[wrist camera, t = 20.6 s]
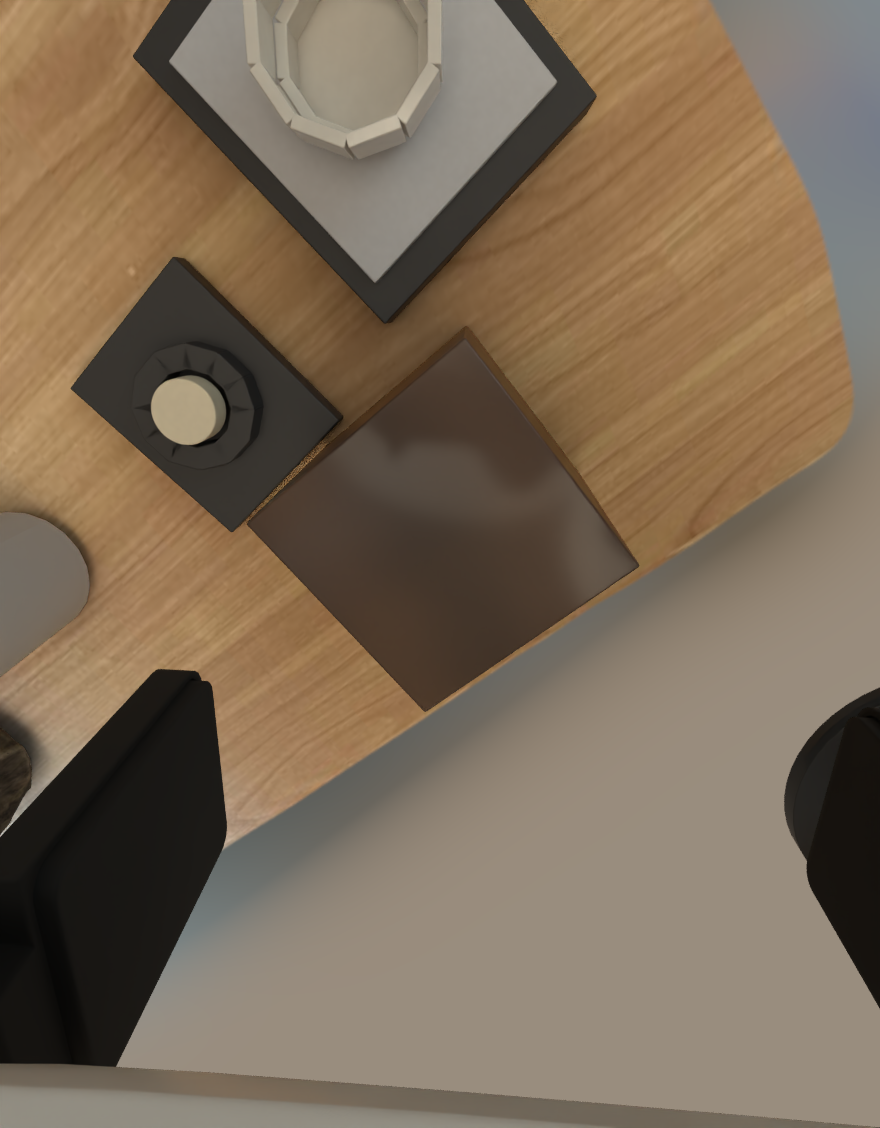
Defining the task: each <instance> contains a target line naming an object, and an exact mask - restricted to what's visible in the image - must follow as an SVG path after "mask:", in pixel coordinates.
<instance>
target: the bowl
mask: <svg viewBox="0 0 880 1128" xmlns="http://www.w3.org/2000/svg"><path fill="white" fill-rule="evenodd" d="M420 1H421V2H420ZM281 2H282V0H242V3H243V16H244V29H245V42H246V55H247V64H248V65H249V66H250V67H251V69H250V72H251V74H252V75H253V77H254V78H255V80H256V81H257V83H258V84H259V85H260V87H261V88H262V90H263V91H264V93H265V94H266V96H267V97H268V99H269V100H270V102H271V103H272V105H273V106H274V108H275V109H276V111H277V112H278V114H279V115H280V117H281V118H282V120H283V121H284V122H285V124H286V125H287V126H288V127H289V128H290V129H291V130H292V131H293V132H294V133H295V134H296V135H297V136H298V137H300V138H301V139H302V140H303V141H304V142H306V143H309V144H312V145H314V146H317V147H320V148H322V149H325V150H328V151H330V152H333V153H336V154H338V155H341V156H344V157H346V158H349V159H352V160H353V159H354V156H356V158H357V159H358V160H359V159H362V158H365V157H367V156H370V155H373V154H375V153H378V152H381V151H383V150H386V149H389V148H391V147H394V146H397V145H399V144H402V143H405V142H406V136H408V137H409V138H411V137H412V135H413V134H414V132H415V130H416V129H417V127H418V126H419V124H420V122H421V121H422V119H423V118H424V116H425V114H426V113H427V111H428V110H429V108H430V106H431V105H432V103H433V101H434V100H435V98H436V97H437V95H438V93H439V92H440V90H441V83H443V73H444V11H443V0H284V1H283V3H282V5H281V7H280V9H279V10H278V12H277V14H276V16H275V19H276V21H277V22H278V23H274V35H273V20H272V19H273V17H274V15H275V13H276V11H277V9H278V7H279V5H280V4H281ZM421 3H422V4H423V5H422V4H421ZM423 6H424V7H423ZM424 8H425V9H426V10H425V9H424ZM426 11H427V12H426ZM274 38H275V50H274ZM275 53H276V66H275ZM276 69H277V78H278V80H279V81H280V83H279V84H278V82H277V81H276ZM280 86H281V87H280ZM282 89H283V90H282ZM284 92H285V93H284ZM286 95H287V96H286ZM288 98H289V99H288ZM290 101H291V102H290ZM292 104H293V105H292ZM294 107H295V108H294ZM296 110H297V111H296ZM298 113H299V114H298Z"/></svg>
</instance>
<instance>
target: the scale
mask: <svg viewBox="0 0 880 1128" xmlns="http://www.w3.org/2000/svg"><path fill="white" fill-rule="evenodd" d="M283 1H284V0H282V2H281V4H280V5H279V7H278V9H277V11H276V13H275V15H274V17H273V19H272V20H273V35H274V23H278V22H277V21H276V19H275V16H276V14H277V12H278V10H279V9H280V7H281V5H282V3H283ZM420 2H421V1H420ZM421 4H422V3H421ZM422 5H423V4H422ZM423 7H424V6H423ZM424 9H425V8H424ZM425 10H426V9H425ZM443 11H444V73H443V83H441V90H440V92H439V93H438V95H437V97H436V98H435V100H434V101H433V103H432V105H431V106H430V108H429V110H428V111H427V113H426V114H425V116H424V118H423V119H422V121H421V122H420V124H419V126H418V127H417V129H416V130H415V132H414V134H413V135H412V137H411V138H409V137H408V136H406V142H405V143H402V144H399V145H397V146H394V147H391V148H389V149H386V150H383V151H381V152H378V153H375V154H373V155H370V156H367V157H365V158H362V159H359V160H358V159H357V158H356V156H354V159H353V160H352V159H349V158H346V157H344V156H341V155H338V154H336V153H333V152H330V151H328V150H325V149H322V148H320V147H317V146H314V145H312V144H309V143H306V142H304V141H303V140H302V139H301V138H300V137H298V136H297V135H296V134H295V133H294V132H293V131H292V130H291V129H290V128H289V127H288V126H287V125H286V124H285V122H284V121H283V120H282V118H281V117H280V115H279V114H278V112H277V111H276V109H275V108H274V106H273V105H272V103H271V102H270V100H269V99H268V97H267V96H266V94H265V93H264V91H263V90H262V88H261V87H260V85H259V84H258V83H257V81H256V80H255V78H254V77H253V75H252V74H251V72H250V69H251V67H250V66H249V65H248V64H247V55H246V42H245V29H244V16H243V3H242V0H171V1H170V2H169V4H168V5H167V7H166V8H165V10H164V11H163V13H162V14H161V15H160V17H159V18H158V20H157V21H156V23H155V24H154V26H153V27H152V29H151V30H150V32H149V33H148V34H147V36H146V37H145V39H144V40H143V42H142V43H141V45H140V46H139V48H138V49H137V51H136V52H135V53H134V55H133V57H134V59H135V60H136V61H137V62H138V63H139V64H140V65H141V66H142V67H143V68H144V69H145V70H146V71H147V72H148V74H149V75H150V76H151V77H152V78H153V79H154V80H155V81H156V82H157V83H158V84H159V85H160V86H161V87H162V88H163V89H164V91H165V92H166V93H167V94H168V95H169V96H170V97H171V98H172V99H173V100H174V101H175V102H176V103H177V104H178V105H179V106H180V107H181V109H182V110H183V111H184V112H185V113H186V114H187V115H188V116H189V117H190V118H191V119H192V120H193V121H194V122H195V123H196V124H197V125H198V127H199V128H200V129H201V130H202V131H203V132H204V133H205V134H206V135H207V136H208V137H209V138H210V139H211V140H212V141H213V142H214V143H215V145H216V146H217V147H218V148H219V149H220V150H221V151H222V152H223V153H224V154H225V155H226V156H227V157H228V158H229V159H230V160H231V162H232V163H233V164H234V165H235V166H236V167H237V168H238V169H239V170H240V171H241V172H242V173H243V174H244V175H245V176H246V177H247V178H248V180H249V181H250V182H251V183H252V184H253V185H254V186H255V187H256V188H257V189H258V190H259V191H260V192H261V193H262V194H263V195H264V196H265V198H266V199H267V200H268V201H269V202H270V203H271V204H272V205H273V206H274V207H275V208H276V209H277V210H278V211H279V212H280V213H281V215H282V216H283V217H284V218H285V219H286V220H287V221H288V222H289V223H290V224H291V225H292V226H293V227H294V228H295V229H296V230H297V231H298V233H299V234H300V235H301V236H302V237H303V238H304V239H305V240H306V241H307V242H308V243H309V244H310V245H311V246H312V247H313V248H314V249H315V251H316V252H317V253H318V254H319V255H320V256H321V257H322V258H323V259H324V260H325V261H326V262H327V263H328V264H329V265H330V266H331V267H332V269H333V270H334V271H335V272H336V273H337V274H338V275H339V276H340V277H341V278H342V279H343V280H344V281H345V282H346V283H347V284H348V286H349V287H350V288H351V289H352V290H353V291H354V292H355V293H356V294H357V295H358V296H359V297H360V298H361V299H362V300H363V301H364V302H365V304H366V305H367V306H368V307H369V308H370V309H371V310H372V311H373V312H374V313H375V314H376V315H377V316H378V317H379V318H380V319H381V320H382V322H383V323H385V324H386V323H391V322H392V321H393V320H394V319H395V318H396V317H397V316H398V315H399V314H400V313H401V312H402V311H403V310H404V309H405V308H406V306H407V305H408V304H409V303H410V302H411V301H412V300H413V299H414V298H415V297H416V296H417V295H418V294H419V293H420V291H421V290H422V289H423V288H424V287H425V286H426V285H427V284H428V283H429V282H430V281H431V280H432V279H433V278H434V276H435V275H436V274H437V273H438V272H439V271H440V270H441V269H442V268H443V267H444V266H445V265H446V264H447V263H448V262H449V260H450V259H451V258H452V257H453V256H454V255H455V254H456V253H457V252H458V251H459V250H460V249H461V248H462V247H463V245H464V244H465V243H466V242H467V241H468V240H469V239H470V238H471V237H472V236H473V235H474V234H475V233H476V232H477V230H478V229H479V228H480V227H481V226H482V225H483V224H484V223H485V222H486V221H487V220H488V219H489V218H490V217H491V215H492V214H493V213H494V212H495V211H496V210H497V209H498V208H499V207H500V206H501V205H502V204H503V203H504V202H505V200H506V199H507V198H508V197H509V196H510V195H511V194H512V193H513V192H514V191H515V190H516V189H517V188H518V187H519V185H520V184H521V183H522V182H523V181H524V180H525V179H526V178H527V177H528V176H529V175H530V174H531V173H532V172H533V170H534V169H535V168H536V167H537V166H538V165H539V164H540V163H541V162H542V161H543V160H544V159H545V158H546V157H547V156H548V154H549V153H550V152H551V151H552V150H553V149H554V148H555V147H556V146H557V145H558V144H559V143H560V142H561V141H562V139H563V138H564V137H565V136H566V135H567V134H568V133H569V132H570V131H571V130H572V129H573V128H574V127H575V126H576V124H577V123H578V122H579V121H580V120H581V119H582V118H583V117H584V116H585V115H586V114H587V112H588V110H589V109H590V107H591V105H592V104H593V102H594V100H595V99H596V97H597V96H596V94H595V93H594V91H593V90H592V89H591V87H590V86H589V85H588V83H587V82H586V81H585V80H584V78H583V77H582V76H581V74H580V73H579V72H578V70H577V69H576V68H575V67H574V65H573V64H572V63H571V61H570V60H569V59H568V57H567V56H566V55H565V54H564V52H563V51H562V50H561V48H560V47H559V46H558V44H557V43H556V42H555V40H554V39H553V38H552V37H551V35H550V34H549V33H548V31H547V30H546V29H545V27H544V26H543V25H542V24H541V22H540V21H539V20H538V18H537V17H536V16H535V14H534V13H533V12H532V11H531V9H530V8H529V7H528V5H527V4H526V3H525V1H524V0H443ZM426 12H427V11H426ZM274 50H275V38H274ZM275 66H276V53H275ZM276 81H277V82H278V84H279V83H280V81H279V80H278V78H277V69H276ZM280 87H281V86H280ZM282 90H283V89H282ZM284 93H285V92H284ZM286 96H287V95H286ZM288 99H289V98H288ZM290 102H291V101H290ZM292 105H293V104H292ZM294 108H295V107H294ZM296 111H297V110H296ZM298 114H299V113H298Z"/></svg>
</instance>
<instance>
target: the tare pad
mask: <svg viewBox="0 0 880 1128" xmlns="http://www.w3.org/2000/svg"><path fill="white" fill-rule="evenodd" d="M189 375H192V376H198V377H201V378H204V379H206V380H208V381H209V382H211V383H212V384H213V385H214V386H215V387H216V388H217V389H218V390H219V392H220V393H221V395H222V397H223V399H224V402H225V406H226V418H225V422H224V425H223V426H222V428H221V430H220V431H219V432H218V433H217V434H216V435H214V436H212V437H211V438H209V439H207V440H205V441H203V442H201V443H198V444H194V445H183V444H179V443H176V442H174V441H172V440H170V439H168V438H167V437H166V436H164V435H163V434H162V433H161V432H160V430H159V429H158V428H157V426H156V424H155V422H154V420H153V417H152V413H151V402H152V397H153V395H154V393H155V391H156V389H157V388H158V387H159V386H160V385H161V384H162V383H164V382H165V381H167V380H170V379H174V378H178V377H182V376H189ZM71 390H73V391H74V392H75V393H76V394H77V395H78V396H79V397H80V398H82V399H83V400H84V401H85V402H86V403H87V404H88V405H89V406H91V407H92V408H93V409H94V410H95V411H96V412H97V413H98V414H99V415H101V416H102V417H103V418H104V419H105V420H106V421H107V422H108V423H110V424H111V425H112V426H113V427H114V428H115V429H116V430H117V431H119V432H120V433H121V434H122V435H123V436H124V437H125V438H126V439H127V440H129V441H130V442H131V443H132V444H133V445H134V446H135V447H136V448H138V449H139V450H140V451H141V452H142V453H143V454H144V455H145V456H146V457H148V458H149V459H150V460H151V461H152V462H153V463H154V464H155V465H157V466H158V467H159V468H160V469H161V470H162V471H163V472H164V473H166V474H167V475H168V476H169V477H170V478H171V479H172V480H173V481H174V482H176V483H177V484H178V485H179V486H180V487H181V488H182V489H183V490H185V491H186V492H187V493H188V494H189V495H190V496H191V497H192V498H194V499H195V500H196V501H197V502H198V503H199V504H200V505H201V506H202V507H204V508H205V509H206V510H207V511H208V512H209V513H210V514H211V515H213V516H214V517H215V518H216V519H217V520H218V521H219V522H220V523H221V524H223V525H224V526H225V527H226V528H227V529H228V530H229V531H230V532H233V531H234V530H235V529H237V528H238V527H239V526H240V525H241V524H242V523H243V522H244V521H245V519H246V518H247V517H248V516H249V515H250V514H251V513H252V512H253V511H254V510H255V509H256V508H257V507H258V506H259V505H260V504H261V503H262V502H263V501H264V500H265V499H266V498H267V497H268V495H269V494H270V493H271V492H272V491H273V490H274V489H275V488H276V487H277V486H278V485H279V484H280V483H281V482H282V481H283V480H284V479H285V478H286V477H287V476H288V475H289V474H290V473H291V471H292V470H293V469H294V468H295V467H296V466H297V465H298V464H299V463H300V462H301V461H302V460H303V459H304V458H305V457H306V456H307V455H308V454H309V453H310V452H311V451H312V450H313V449H314V447H315V446H316V445H317V444H318V443H319V442H320V441H321V440H322V439H323V438H324V437H325V436H326V435H327V434H328V433H329V432H330V431H331V430H332V429H333V428H334V427H335V426H336V425H337V423H338V422H339V421H340V420H341V419H342V418H343V416H342V415H341V414H340V413H339V412H338V411H337V410H336V409H335V408H334V407H333V406H332V405H331V404H330V403H329V402H328V401H327V400H326V399H325V398H324V397H323V396H322V395H321V394H320V393H319V392H318V391H317V390H316V389H315V388H314V387H313V386H312V385H311V384H310V383H309V382H308V381H307V380H306V379H305V378H304V377H303V376H302V375H301V374H300V373H299V372H298V371H297V370H296V369H295V368H294V367H293V366H292V365H291V364H290V363H289V362H288V361H287V360H286V359H285V358H284V357H283V356H282V355H281V354H280V353H279V352H278V351H277V350H276V349H275V348H274V347H273V346H272V345H271V344H270V343H269V342H268V341H267V340H266V339H265V338H264V337H263V336H262V335H261V334H260V333H259V332H258V331H257V330H256V329H255V328H254V327H253V326H252V325H251V324H250V323H249V322H248V321H247V320H246V319H245V318H244V317H243V316H242V315H241V314H240V313H239V312H238V311H237V310H236V309H235V308H234V307H233V306H232V305H231V304H230V303H229V302H228V301H227V300H226V299H225V298H224V297H223V296H222V295H221V294H220V293H219V292H218V291H217V290H216V289H215V288H214V287H213V286H212V285H211V284H210V283H209V282H208V281H207V280H206V279H205V278H204V277H203V276H202V275H201V274H200V273H199V272H198V271H197V270H196V269H195V268H194V267H193V266H192V265H191V264H190V263H189V262H188V261H187V260H186V259H184V258H178V257H173V258H172V259H171V260H170V261H169V263H168V264H167V265H166V266H165V268H164V269H163V270H162V272H161V273H160V274H159V275H158V277H157V278H156V279H155V281H154V282H153V283H152V284H151V286H150V287H149V288H148V290H147V291H146V292H145V293H144V295H143V296H142V297H141V298H140V300H139V301H138V302H137V304H136V305H135V306H134V307H133V309H132V310H131V311H130V313H129V314H128V315H127V316H126V318H125V319H124V320H123V322H122V323H121V324H120V325H119V327H118V328H117V329H116V331H115V332H114V333H113V334H112V336H111V337H110V338H109V339H108V341H107V342H106V343H105V345H104V346H103V347H102V348H101V350H100V351H99V352H98V354H97V355H96V356H95V357H94V359H93V360H92V361H91V363H90V364H89V365H88V366H87V368H86V369H85V370H84V371H83V373H82V374H81V375H80V377H79V378H78V379H77V380H76V382H75V383H74V384H73V386H72V387H71Z"/></svg>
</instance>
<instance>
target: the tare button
mask: <svg viewBox="0 0 880 1128" xmlns="http://www.w3.org/2000/svg"><path fill="white" fill-rule="evenodd" d="M151 413H152V417H153V420H154V422H155V424H156V426H157V428H158V429H159V430H160V432H161V433H162V434H163V435H164V436H166V437H167V438H168V439H170V440H172V441H174V442H176V443H179V444H183V445H194V444H198V443H201V442H203V441H205V440H207V439H209V438H211V437H212V436H214V435H216V434H217V433H218V432H219V431H220V430H221V428H222V426H223V425H224V422H225V418H226V406H225V402H224V399H223V397H222V395H221V393H220V392H219V390H218V389H217V388H216V387H215V386H214V385H213V384H212V383H211V382H209V381H208V380H206V379H204V378H201V377H198V376H192V375H189V376H182V377H178V378H174V379H170V380H167V381H165V382H164V383H162V384H161V385H160V386H159V387H158V388H157V389H156V391H155V393H154V395H153V397H152V402H151Z"/></svg>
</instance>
